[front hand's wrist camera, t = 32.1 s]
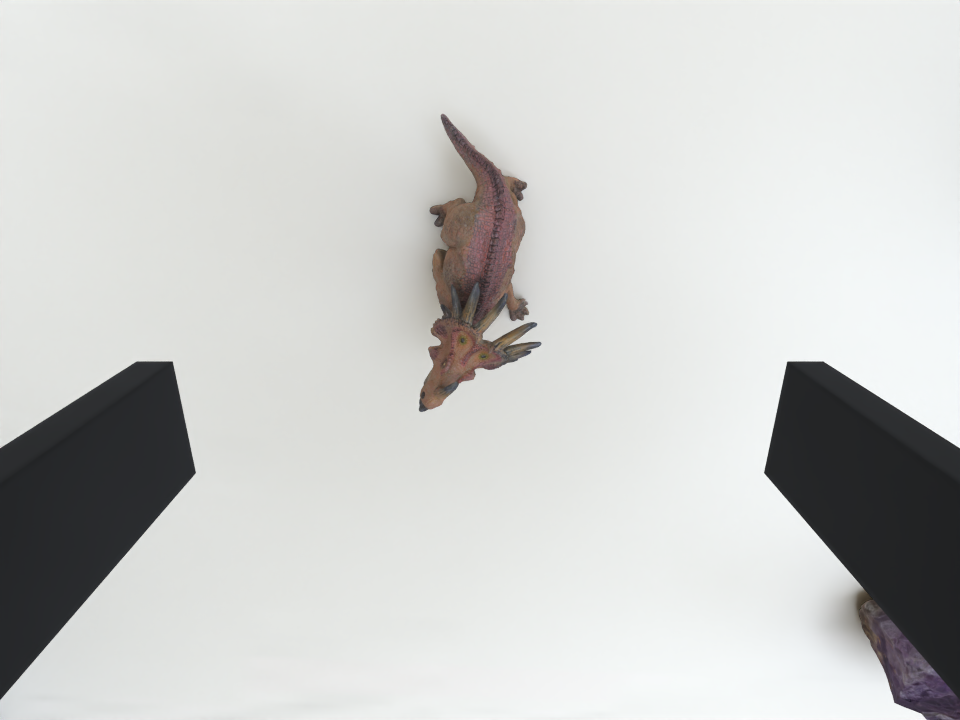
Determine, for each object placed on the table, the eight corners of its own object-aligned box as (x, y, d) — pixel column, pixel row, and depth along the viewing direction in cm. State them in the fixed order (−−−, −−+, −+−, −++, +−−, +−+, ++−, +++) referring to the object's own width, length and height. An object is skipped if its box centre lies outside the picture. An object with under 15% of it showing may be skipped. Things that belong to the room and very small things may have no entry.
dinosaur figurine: (525, 359, 35) (541, 431, 26) (430, 357, 35) (414, 428, 26) (540, 119, 30) (564, 109, 21) (429, 115, 30) (408, 104, 21)
